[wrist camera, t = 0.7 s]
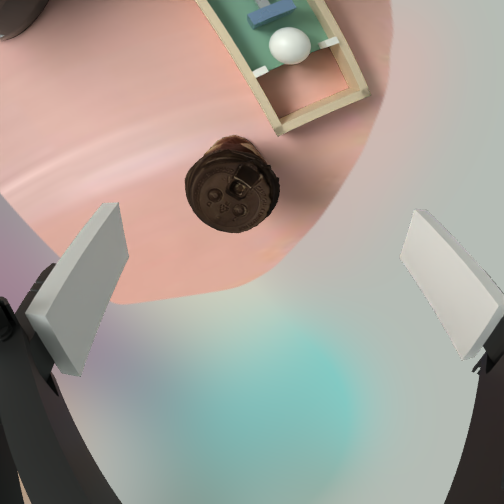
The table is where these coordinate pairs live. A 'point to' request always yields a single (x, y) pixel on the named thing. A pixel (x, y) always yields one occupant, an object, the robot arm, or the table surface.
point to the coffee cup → (232, 186)
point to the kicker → (269, 12)
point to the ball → (289, 45)
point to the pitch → (262, 61)
